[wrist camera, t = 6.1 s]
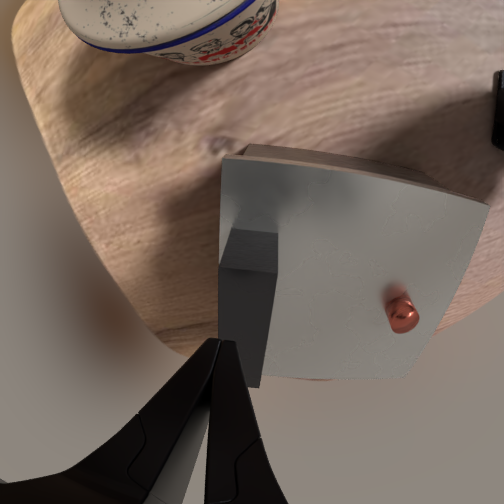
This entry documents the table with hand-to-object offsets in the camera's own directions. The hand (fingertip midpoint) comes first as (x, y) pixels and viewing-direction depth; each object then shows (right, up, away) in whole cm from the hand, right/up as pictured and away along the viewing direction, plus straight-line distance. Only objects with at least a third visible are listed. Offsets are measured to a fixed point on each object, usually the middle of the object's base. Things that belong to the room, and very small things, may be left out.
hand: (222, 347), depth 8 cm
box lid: (+6, +1, +6) cm, 8 cm away
